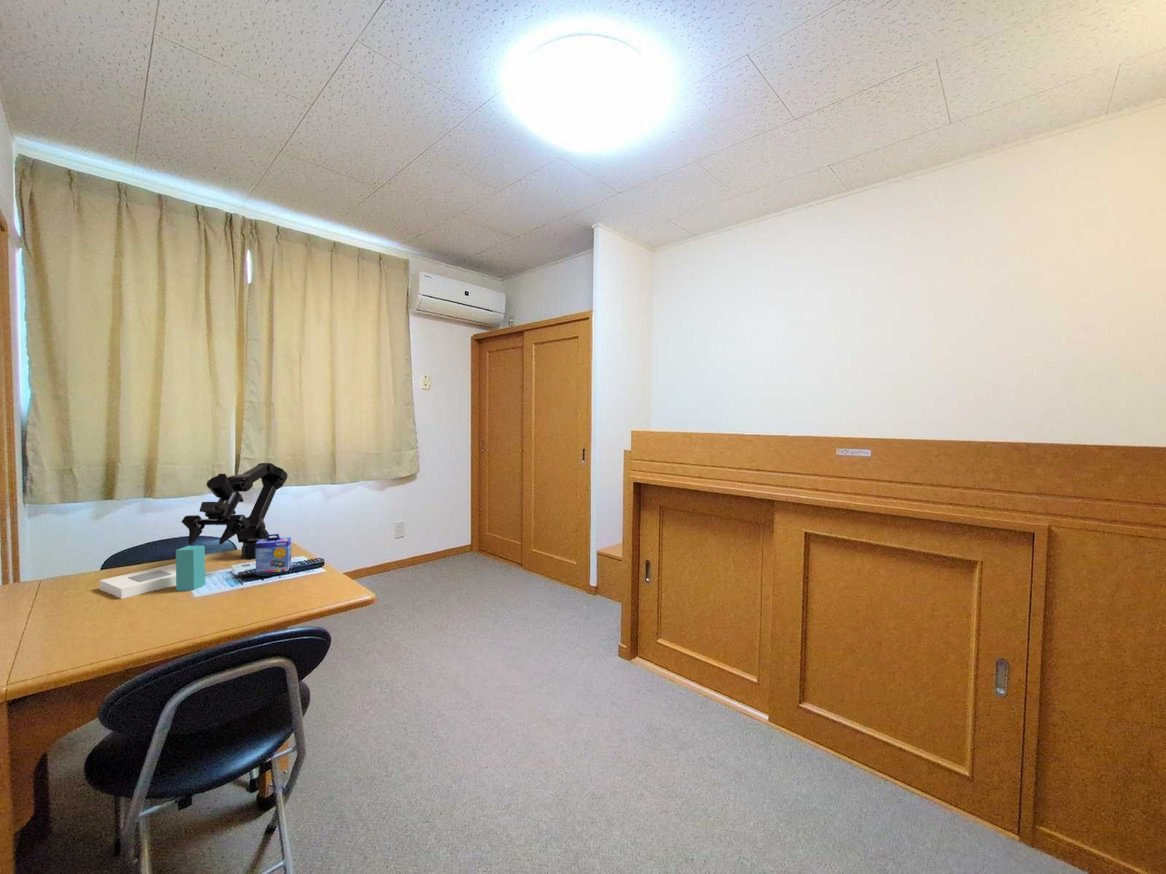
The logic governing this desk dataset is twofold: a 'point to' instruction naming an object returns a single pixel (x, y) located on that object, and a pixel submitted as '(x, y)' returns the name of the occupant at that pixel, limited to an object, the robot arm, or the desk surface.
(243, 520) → the robot arm
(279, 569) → the ink cartridge box
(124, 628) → the desk surface
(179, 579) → the teal block
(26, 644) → the desk surface
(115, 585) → the base plate
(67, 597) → the desk surface
